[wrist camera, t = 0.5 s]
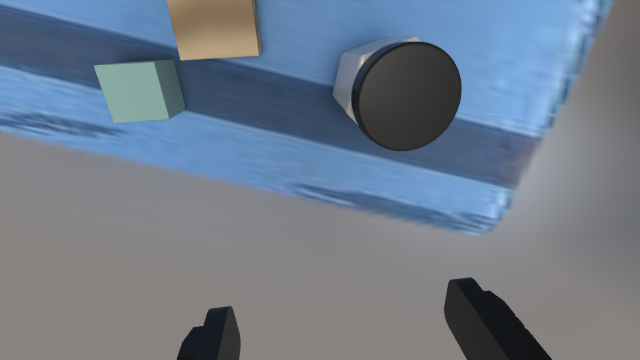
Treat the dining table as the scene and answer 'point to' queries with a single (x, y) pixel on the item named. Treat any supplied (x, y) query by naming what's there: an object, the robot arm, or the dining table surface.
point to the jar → (399, 91)
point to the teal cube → (141, 90)
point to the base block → (215, 28)
